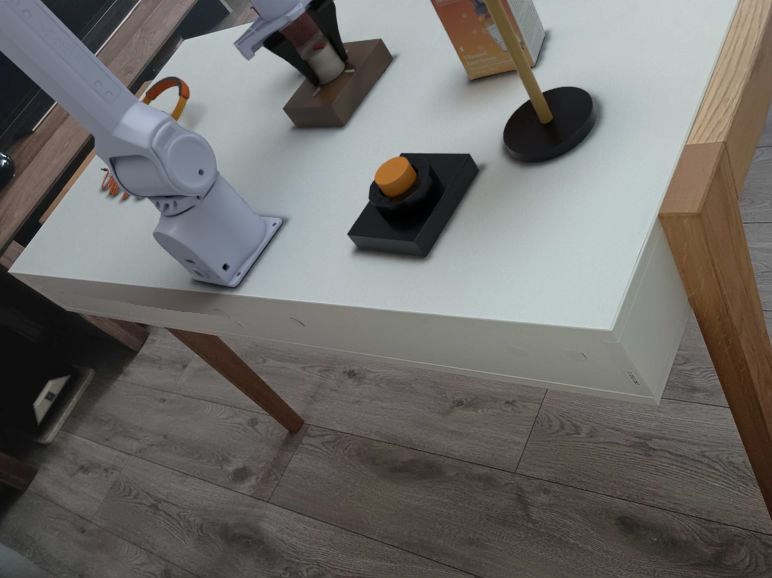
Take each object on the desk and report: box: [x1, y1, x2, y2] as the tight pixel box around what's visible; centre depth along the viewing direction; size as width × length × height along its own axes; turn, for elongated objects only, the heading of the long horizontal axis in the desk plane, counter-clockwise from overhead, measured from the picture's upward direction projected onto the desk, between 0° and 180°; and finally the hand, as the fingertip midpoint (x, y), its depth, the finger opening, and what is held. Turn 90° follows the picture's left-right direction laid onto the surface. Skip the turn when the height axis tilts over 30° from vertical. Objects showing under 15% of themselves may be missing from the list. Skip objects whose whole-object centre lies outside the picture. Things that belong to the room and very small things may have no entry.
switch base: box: [346, 152, 480, 257], centre depth 72 cm, size 11×9×4 cm
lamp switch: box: [373, 156, 417, 197], centre depth 70 cm, size 4×4×2 cm
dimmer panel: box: [282, 37, 394, 128], centre depth 93 cm, size 12×9×3 cm
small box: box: [429, 0, 546, 81], centre depth 78 cm, size 8×6×10 cm
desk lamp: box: [484, 0, 598, 164], centre depth 63 cm, size 10×10×24 cm
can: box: [248, 0, 325, 56], centre depth 98 cm, size 6×6×14 cm
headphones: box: [100, 76, 191, 201], centre depth 109 cm, size 17×5×20 cm
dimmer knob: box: [301, 38, 345, 84], centre depth 91 cm, size 4×4×4 cm
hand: (329, 70), depth 92 cm, fingers closed on dimmer knob, 4 cm apart
